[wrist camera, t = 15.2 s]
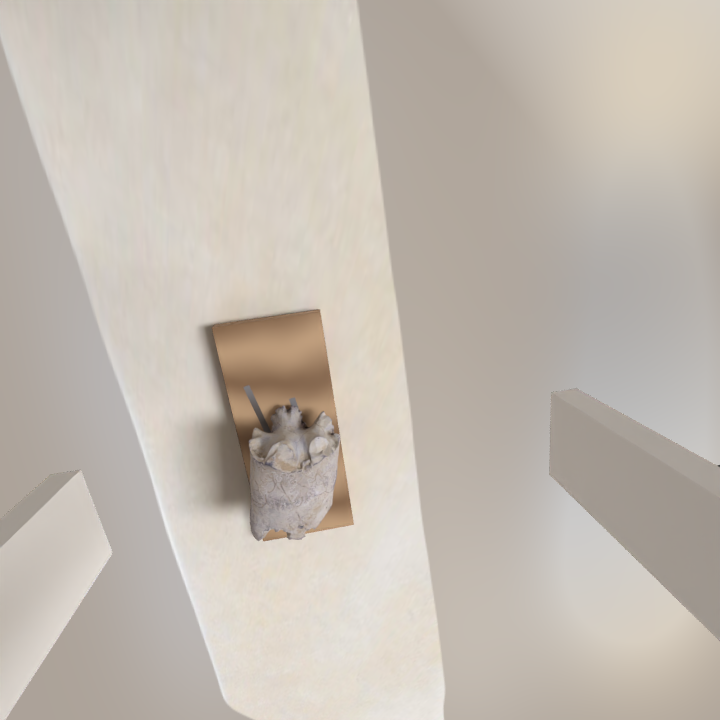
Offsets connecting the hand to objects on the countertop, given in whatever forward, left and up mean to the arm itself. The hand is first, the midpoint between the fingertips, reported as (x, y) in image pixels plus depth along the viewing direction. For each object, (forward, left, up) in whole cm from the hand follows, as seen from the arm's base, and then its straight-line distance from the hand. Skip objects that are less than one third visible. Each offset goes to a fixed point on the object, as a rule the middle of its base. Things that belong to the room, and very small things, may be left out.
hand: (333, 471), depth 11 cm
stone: (+14, -5, -27) cm, 31 cm away
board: (+12, -5, -29) cm, 31 cm away
